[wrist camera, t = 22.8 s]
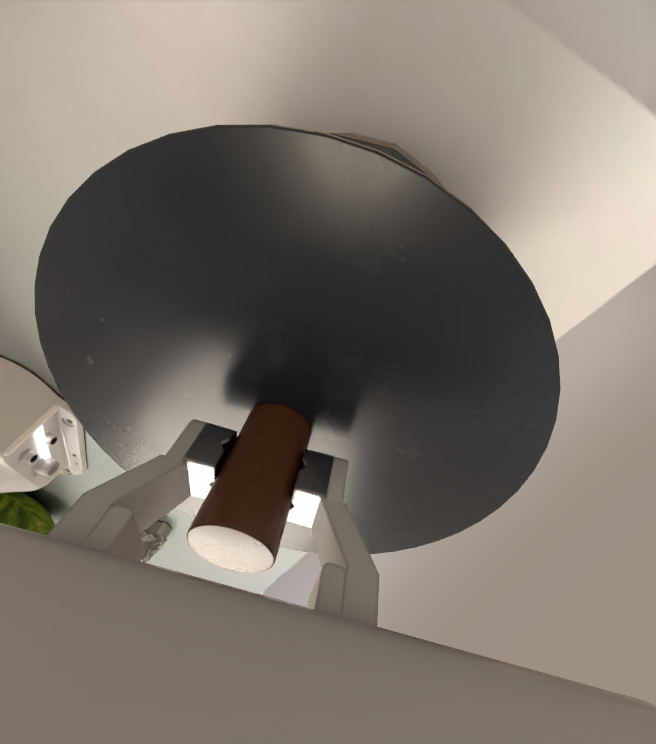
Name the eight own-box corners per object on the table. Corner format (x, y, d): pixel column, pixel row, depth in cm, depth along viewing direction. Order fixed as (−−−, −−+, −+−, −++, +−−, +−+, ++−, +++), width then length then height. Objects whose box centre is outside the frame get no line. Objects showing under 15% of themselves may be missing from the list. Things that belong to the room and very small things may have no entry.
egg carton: (156, 544, 66) (143, 565, 63) (121, 526, 64) (106, 547, 61) (177, 528, 60) (165, 551, 57) (140, 507, 58) (125, 530, 55)
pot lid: (425, 564, 18) (434, 706, 14) (114, 480, 19) (24, 591, 14) (710, 226, 8) (1169, 362, 3) (-28, 44, 8) (-584, -71, 3)
